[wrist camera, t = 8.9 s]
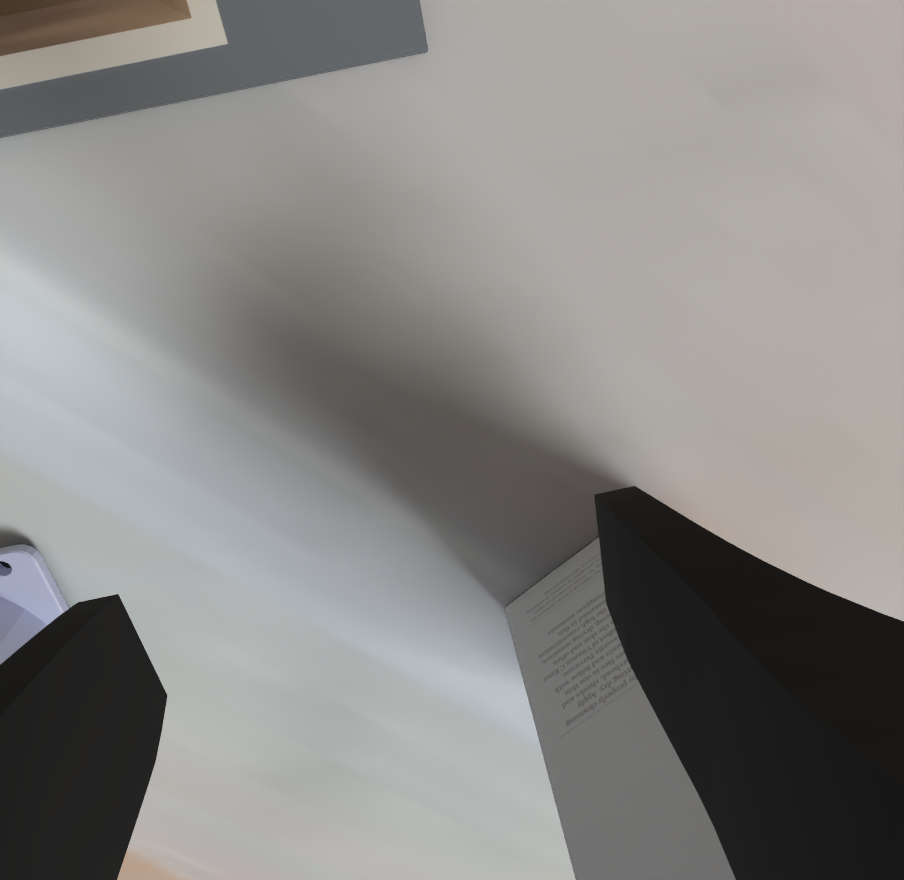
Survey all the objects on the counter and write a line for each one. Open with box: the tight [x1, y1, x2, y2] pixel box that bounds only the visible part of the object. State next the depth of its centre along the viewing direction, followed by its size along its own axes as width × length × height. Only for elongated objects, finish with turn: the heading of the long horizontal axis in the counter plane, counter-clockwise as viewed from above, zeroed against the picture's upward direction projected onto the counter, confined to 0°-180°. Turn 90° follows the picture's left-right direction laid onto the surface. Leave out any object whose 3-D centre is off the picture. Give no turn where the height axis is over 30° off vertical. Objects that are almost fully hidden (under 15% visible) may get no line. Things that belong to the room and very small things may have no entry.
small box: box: [505, 537, 736, 880], centre depth 19 cm, size 8×6×13 cm
